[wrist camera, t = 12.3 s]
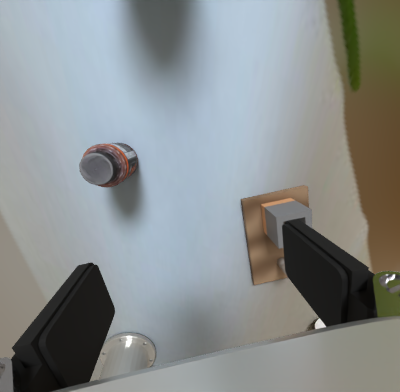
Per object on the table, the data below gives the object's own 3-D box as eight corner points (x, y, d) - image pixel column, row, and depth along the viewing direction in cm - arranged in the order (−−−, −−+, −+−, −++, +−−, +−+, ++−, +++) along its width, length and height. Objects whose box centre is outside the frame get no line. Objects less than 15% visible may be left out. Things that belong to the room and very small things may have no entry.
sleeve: (290, 197, 39) (311, 209, 33) (292, 225, 41) (312, 241, 34) (261, 204, 39) (276, 217, 32) (263, 231, 40) (279, 248, 34)
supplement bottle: (127, 183, 36) (104, 202, 26) (97, 163, 35) (60, 174, 24) (145, 156, 35) (130, 165, 25) (116, 135, 34) (85, 134, 23)
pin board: (307, 268, 46) (326, 288, 40) (252, 281, 45) (263, 303, 39) (304, 185, 40) (325, 193, 34) (240, 199, 39) (251, 210, 33)
